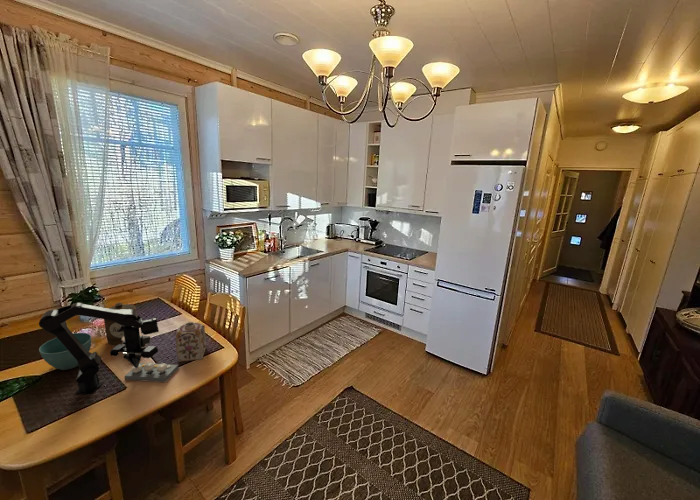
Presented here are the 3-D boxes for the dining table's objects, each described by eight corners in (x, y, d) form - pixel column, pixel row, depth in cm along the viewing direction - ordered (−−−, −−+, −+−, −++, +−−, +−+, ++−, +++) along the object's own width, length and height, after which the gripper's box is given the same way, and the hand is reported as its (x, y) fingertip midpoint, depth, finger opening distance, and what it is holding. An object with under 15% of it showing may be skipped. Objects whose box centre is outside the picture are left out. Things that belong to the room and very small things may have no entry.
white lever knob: (163, 375, 138) (163, 368, 137) (155, 374, 138) (154, 368, 137) (169, 370, 142) (168, 363, 141) (161, 369, 142) (160, 363, 141)
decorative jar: (177, 362, 151) (173, 330, 147) (183, 349, 162) (180, 319, 158) (202, 359, 154) (200, 328, 150) (207, 347, 165) (204, 317, 161)
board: (165, 382, 137) (165, 378, 136) (125, 379, 137) (124, 375, 137) (178, 368, 146) (178, 364, 146) (140, 366, 147) (140, 362, 146)
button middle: (151, 374, 138) (150, 368, 137) (142, 374, 138) (141, 367, 137) (156, 369, 142) (156, 362, 141) (148, 368, 142) (147, 362, 141)
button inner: (138, 376, 138) (137, 369, 137) (130, 375, 138) (129, 369, 138) (144, 370, 142) (144, 364, 141) (136, 370, 142) (135, 364, 141)
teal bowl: (101, 361, 149) (97, 339, 146) (52, 382, 134) (47, 358, 131) (86, 350, 158) (82, 329, 155) (38, 367, 142) (33, 345, 140)
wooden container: (114, 348, 160) (108, 311, 155) (102, 340, 167) (96, 304, 162) (144, 337, 172) (140, 302, 167) (132, 329, 180) (127, 295, 174)
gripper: (163, 329, 143) (167, 358, 147) (125, 327, 144) (130, 355, 147) (147, 342, 132) (151, 372, 136) (106, 339, 133) (111, 369, 137)
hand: (136, 367), depth 139 cm, fingers closed, pressing on button inner
